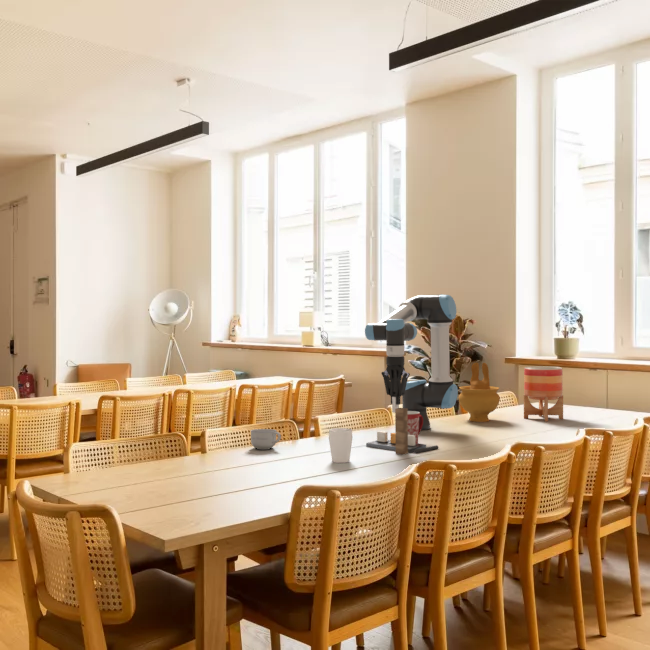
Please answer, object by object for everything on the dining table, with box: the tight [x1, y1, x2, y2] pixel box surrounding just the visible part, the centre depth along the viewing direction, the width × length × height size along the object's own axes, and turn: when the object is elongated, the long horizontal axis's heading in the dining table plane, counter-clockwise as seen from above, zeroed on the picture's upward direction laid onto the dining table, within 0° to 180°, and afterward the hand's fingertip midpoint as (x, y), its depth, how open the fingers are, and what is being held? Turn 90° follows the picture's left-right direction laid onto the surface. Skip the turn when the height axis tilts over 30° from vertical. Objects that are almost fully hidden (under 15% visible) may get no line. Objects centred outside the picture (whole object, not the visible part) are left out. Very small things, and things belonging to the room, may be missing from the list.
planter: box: [523, 365, 564, 423], centre depth 375 cm, size 20×20×27 cm
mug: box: [408, 411, 423, 444], centre depth 309 cm, size 13×9×14 cm
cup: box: [328, 427, 353, 464], centre depth 273 cm, size 9×9×12 cm
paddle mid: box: [390, 432, 396, 444], centre depth 299 cm, size 2×4×4 cm, turn 50°
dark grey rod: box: [413, 444, 439, 454], centre depth 291 cm, size 14×1×1 cm, turn 132°
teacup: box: [250, 428, 282, 450], centre depth 298 cm, size 14×11×8 cm
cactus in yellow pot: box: [457, 362, 501, 423], centre depth 371 cm, size 21×21×30 cm
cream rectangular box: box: [408, 435, 415, 446], centre depth 295 cm, size 2×4×4 cm, turn 50°
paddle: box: [376, 430, 389, 442], centre depth 304 cm, size 2×4×4 cm, turn 50°
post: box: [394, 407, 408, 456], centre depth 286 cm, size 4×4×18 cm
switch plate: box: [365, 439, 427, 454], centre depth 299 cm, size 12×22×2 cm, turn 50°
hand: (395, 412), depth 299 cm, fingers closed
